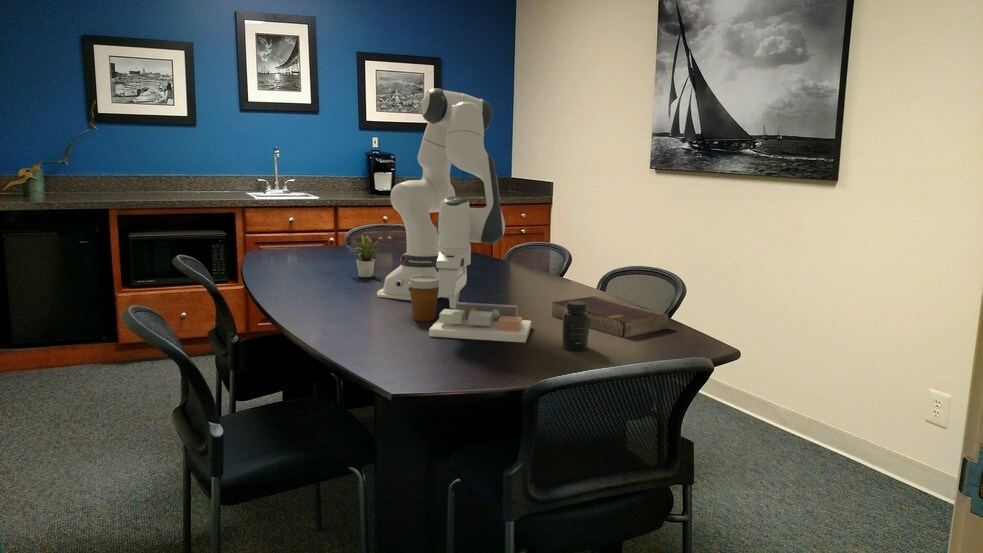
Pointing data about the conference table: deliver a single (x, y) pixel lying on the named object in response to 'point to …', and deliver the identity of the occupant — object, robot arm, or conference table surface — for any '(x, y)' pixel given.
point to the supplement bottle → (575, 327)
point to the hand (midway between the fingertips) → (453, 307)
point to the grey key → (480, 318)
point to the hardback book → (616, 317)
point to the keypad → (480, 330)
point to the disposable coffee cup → (424, 297)
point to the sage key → (452, 316)
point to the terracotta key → (509, 323)
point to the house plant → (365, 258)
